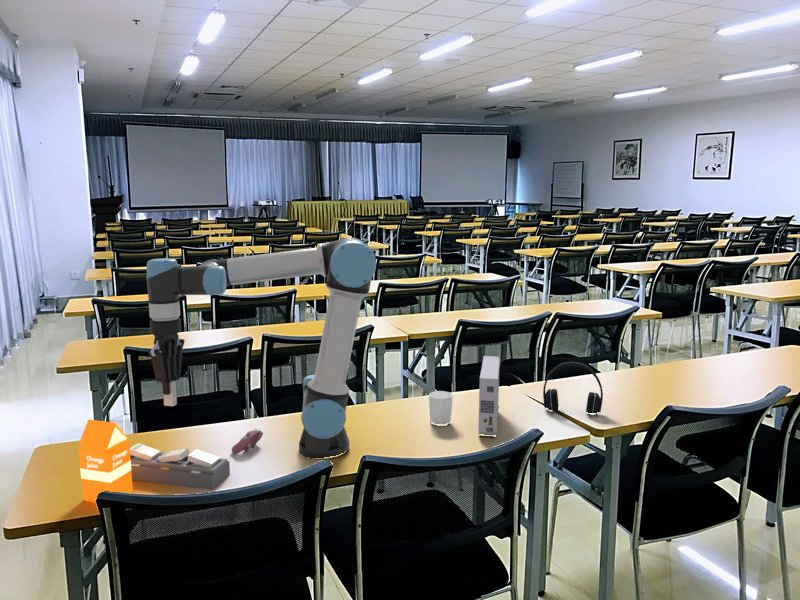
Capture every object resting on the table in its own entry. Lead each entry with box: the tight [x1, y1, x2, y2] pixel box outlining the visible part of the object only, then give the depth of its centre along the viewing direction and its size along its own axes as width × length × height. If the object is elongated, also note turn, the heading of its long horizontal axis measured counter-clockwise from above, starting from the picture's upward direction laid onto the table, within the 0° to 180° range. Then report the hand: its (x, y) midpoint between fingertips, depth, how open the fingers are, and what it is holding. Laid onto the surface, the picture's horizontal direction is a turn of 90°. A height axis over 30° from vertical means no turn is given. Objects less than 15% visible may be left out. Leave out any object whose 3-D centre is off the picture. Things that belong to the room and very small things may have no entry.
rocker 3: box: [187, 448, 220, 468], centre depth 168 cm, size 7×4×2 cm, turn 76°
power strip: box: [130, 451, 231, 490], centre depth 171 cm, size 28×9×5 cm, turn 76°
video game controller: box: [231, 428, 264, 455], centre depth 189 cm, size 10×5×7 cm, turn 160°
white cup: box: [428, 390, 454, 424], centre depth 210 cm, size 8×8×10 cm
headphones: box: [542, 361, 604, 414], centre depth 220 cm, size 20×7×18 cm, turn 74°
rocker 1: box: [129, 442, 162, 461], centre depth 173 cm, size 7×4×2 cm, turn 76°
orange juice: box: [77, 419, 134, 503], centre depth 159 cm, size 8×9×20 cm
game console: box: [477, 355, 501, 436], centre depth 209 cm, size 6×27×20 cm, turn 170°
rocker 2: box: [158, 447, 191, 462], centre depth 170 cm, size 7×4×2 cm, turn 76°
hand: (170, 404), depth 168 cm, fingers closed
